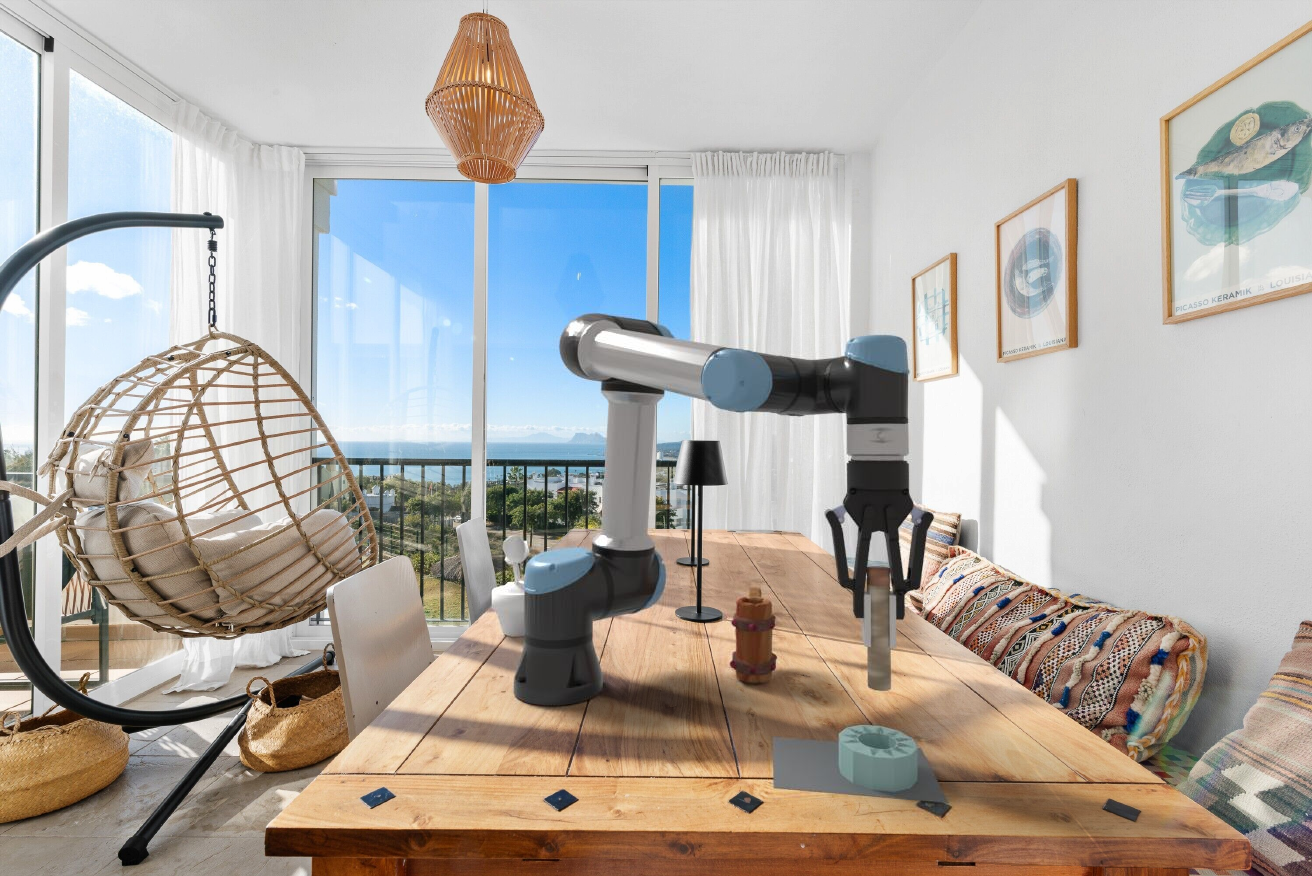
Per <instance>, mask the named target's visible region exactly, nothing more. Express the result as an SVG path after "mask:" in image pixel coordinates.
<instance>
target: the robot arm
mask: <svg viewBox="0 0 1312 876" xmlns="http://www.w3.org/2000/svg"><path fill="white" fill-rule="evenodd" d="M558 344H559V346H558V347H559V348H558V349H559V354H560V358H561V361H562V363H563V364H564V366H565V367H566V369H568V370H569V371H570V373H572V374H573V375H574V376H577V377H578V378H581V379H585V380H588V381H593V382H600V384H601V385H600V386H601V387H600V393H601V394H602V395H603V397H604V398H605V399H606V400H607V403H608V405H607V406H608V407H607V425H606V426H607V427H606V441H605V458H604V459H605V460H604V461H605V462H604V476H603V477H604V479H603V494H602V508H601V509H602V512H601V527H600V528H601V530H600V532H599V533H598V534H597V535H595V536H594V537H593V538H592V541H591V550H590V549H589V548H587V547H586V548H585V547H579V546H578V547H577V546H576V547H575V546H574V547H570V546H569V547H565V548H555V549H550V550H547V551H543V552H540V553H537V554H536V555H534V556H532V557H531V558H530V559H529V560H528V561H527V563H526V564H525V569H524V578H523V579H524V581H523V582H524V584H523V587H524V636H523V637H524V638H523V639H524V643H523V644H524V645H523V649H522V652H521V654H520V658H519V660H518V665H517V667H516V670H515V673H514V676H513V694H514V696H515V697H516V698H517V699H518V700H520V701H523V702H526V703H528V704H533V705H541V706H565V705H566V706H567V705H572V704H577V703H581V702H585V701H588V700H590V699H593V698H594V697H596V696H598V695H599V694H600V693H601V692H602V691H603V687H604V683H603V682H604V675H603V671H602V667H601V665H600V662H599V658H598V655H597V652H596V648H595V645H594V640H593V639H594V638H593V637H594V636H593V635H594V633H593V630H594V622H596V621H601V620H605V619H611V618H614V617H619V616H620V617H621V616H624V615H625V616H626V615H633V614H637V613H639V612H640V611H644V610H647V609H651V607H653V606H654V605H655V604H657V602H658V601H659V600H660V598H661V597H662V595H663V593H664V590H665V587H666V581H667V570H666V565H665V563H662V562H663V557H662V555H661V554H660V553H659V552H658V550H656V549H655V547H656V543H655V541H654V540H653V538H652V537H651V536H650V535H649V533H648V529H649V516H650V514H649V512H650V501H651V500H650V498H651V497H650V496H651V495H650V494H651V480H652V463H653V449H654V447H653V446H654V434H655V433H654V432H655V431H654V430H655V419H656V418H655V417H656V405H657V404H658V403H659V402H660V401H661V400H662V399H663V398H664V397H665V391H666V392H670V393H674V394H677V395H681V396H685V397H690V398H692V399H693V398H694V399H698V400H702V401H705V402H709V403H711V405H712V406H714V407H715V408H717V409H720V410H724V411H728V412H732V413H734V412H735V413H739V414H740V413H748V412H750V413H752V412H753V413H770V414H777V415H780V416H788V417H798V418H799V417H804V416H812V415H813V416H814V415H828V414H829V415H830V414H845V417H846V455H848V456H850V457H851V458H850V460H848V462H846V493H845V496H844V498H843V500H842V504H840V505H837V506H836V507H834V508H832V509H829V508H828V509H826V510H825V511H824V517H825V519H826V520H827V522H828V524H829V526H830V529H831V536H832V545H833V552H834V553H833V554H834V559H835V566H836V574H837V581H838V583H839V585H840V587H842V588H843V589H847V590H850V591H852V612H853V615H854V617H855V619H861V641H862V644H863V646H864V648H867V647H871V595H870V594H868V593H867V589H865V588H866V583H867V567H868V563H869V555H870V547H871V540H872V536H873V535H872V534H873V533H875V532H882V533H884V538H885V545H886V546H885V547H886V551H887V560H888V561H887V562H888V568H890V586H891V588H892V590H890V594H889V647H890V648H891V649H897V620H898V621H904V619H905V616H906V613H905V611H906V609H905V608H906V605H905V604H906V603H905V601H906V600H905V597H906V595H907V593H908V592H912V591H918V590H919V589H920V588H921V584H922V578H923V577H922V576H923V575H922V574H923V568H924V562H925V561H924V559H925V552H926V546H927V545H926V544H927V543H926V542H927V535H928V534H927V533H928V530H929V529H930V526H931V525H932V523H933V521H934V519H935V516H934V513H932V512H930V511H928V510H924V509H922V508H919V507H917V506H916V505H915V504H914V501H913V499H912V498H911V495H910V463H909V462H908V460H905V458H904V457H907V456H908V455H909V454H910V451H909V450H910V449H909V448H910V446H909V445H910V444H909V443H910V442H909V441H910V440H909V436H910V435H909V413H908V412H909V375H910V368H909V358H908V349H907V348H908V346H907V342H906V341H905V340H904V339H903V338H902V337H900V336H897V335H894V334H893V335H891V334H872V335H870V334H869V335H860V336H856V337H853V338H850V339H849V340H848V341H847V342H846V345H845V351H844V355H840V356H837V357H830V358H819V359H818V358H817V359H806V358H805V359H804V358H798V357H790V356H783V355H775V354H770V353H766V352H765V353H764V352H757V351H752V350H748V349H747V350H746V349H742V348H733V347H726V346H722V345H721V346H720V345H715V344H709V343H704V342H697V341H692V340H686V339H681V338H680V339H679V338H675V336H674V335H673V334H672V333H671V331H670V329H669V328H667V327H666V326H664V325H662V324H659V323H656V322H652V321H650V320H648V319H646V320H645V319H638V318H637V319H636V318H630V317H625V316H617V315H609V314H606V313H599V312H597V313H596V312H595V313H585V314H582V315H578V316H577V317H576V318H573V319H572V320H571V321H570V322H569V323H567V325H566V326H565V327H564V329H563V331H562V333H561V335H560V339H559V343H558ZM846 513H847V514H848V516H849V517H850V519H852V521H853V522H854V523H855V525H856V526H857V540H856V550H855V559H854V565H853V566H854V568H853V576H852V578H851V577H850V574H849V567H848V559H847V551H846V543H845V536H844V530H843V527H842V524H844V522H845V520H846V518H845V515H846ZM909 515H911V518H910V521H911V523H912V524H913V528H912V531H911V538H910V539H911V540H910V548H909V556H908V564H907V565H908V566H907V573H906V578H905V576H904V568H903V561H902V553H901V546H900V533H899V528H900V527H901V525H902V524H903V522H904V521H905V520H906V519H907V517H908V516H909Z"/></svg>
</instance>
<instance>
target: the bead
mask: <svg viewBox="0 0 1312 876" xmlns="http://www.w3.org/2000/svg"><path fill="white" fill-rule="evenodd" d="M838 742H839V768H840V773H841V775H843V776H844V777H845V778H847V779H848V780H849V781H851V782H852V783H853V784H856V785H859V786H862V787H865V788H868V789H871V790H877V791H889V792H896V791H901V790H905V789H910V788H911V787H912V786H913V785H914V784H915V783H916V781H917V780H918V748H919V747H918V746H917V744H916V742H915V740H914V738H912V737H910V736H909V735H907V734H905V733H904V732H902V731H900V730H897V729H894V728H890V727H886V726H882V725H869V724H858V725H853V726H848V727H847V726H846V727H845V728H844V729H843V730H841V731H840V732H839V733H838Z"/></svg>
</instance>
